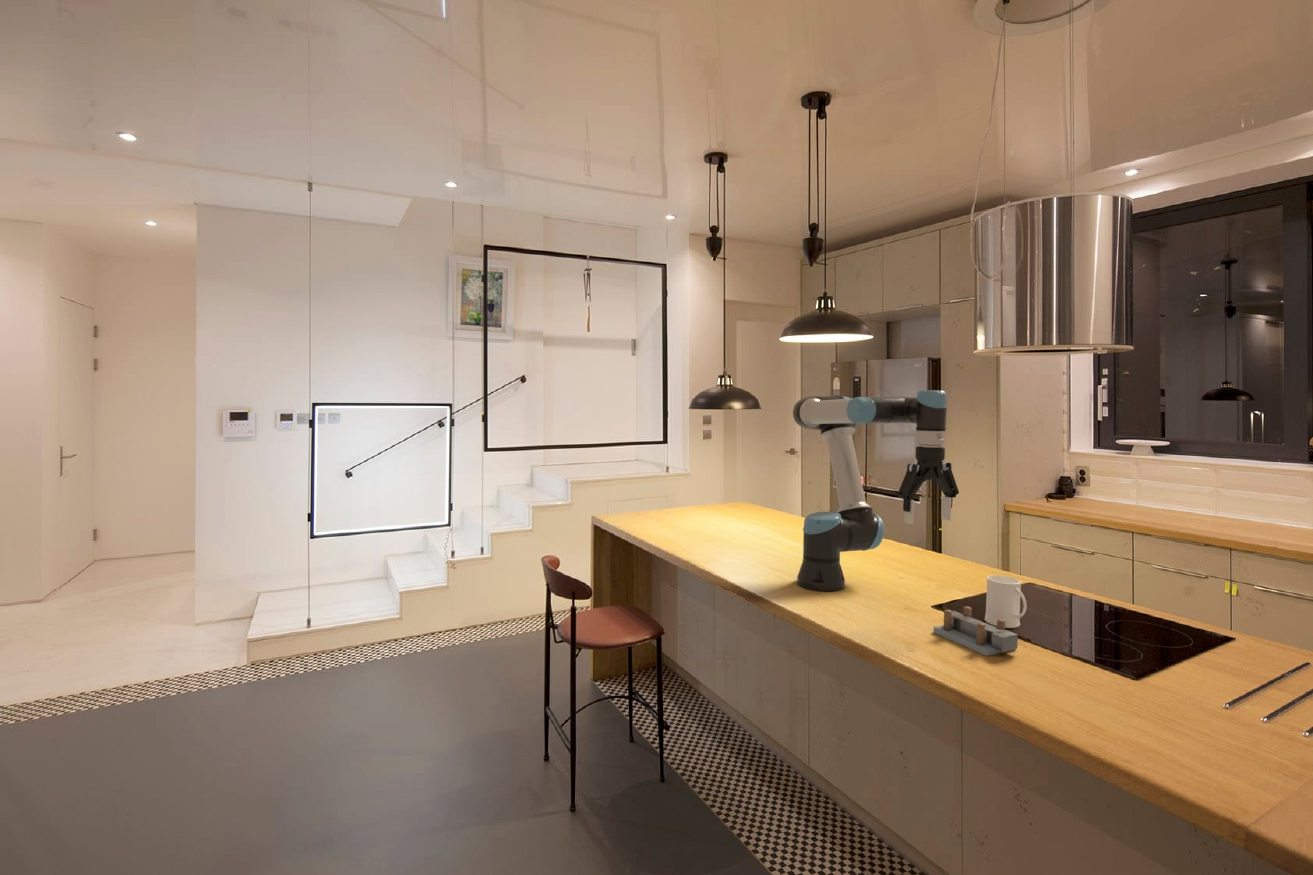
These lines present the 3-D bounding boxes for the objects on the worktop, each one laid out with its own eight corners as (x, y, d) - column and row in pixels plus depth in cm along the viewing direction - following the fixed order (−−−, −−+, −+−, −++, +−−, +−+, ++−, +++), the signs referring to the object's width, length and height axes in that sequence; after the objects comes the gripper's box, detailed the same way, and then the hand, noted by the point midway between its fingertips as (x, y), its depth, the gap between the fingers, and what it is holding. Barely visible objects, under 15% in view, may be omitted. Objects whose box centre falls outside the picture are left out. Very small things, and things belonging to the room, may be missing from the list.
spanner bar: (941, 625, 165) (942, 612, 165) (955, 623, 167) (956, 610, 167) (1002, 651, 148) (1002, 637, 148) (1017, 648, 150) (1017, 634, 150)
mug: (1036, 631, 165) (1038, 587, 164) (1007, 633, 164) (1009, 588, 163) (1005, 616, 177) (1006, 574, 176) (977, 617, 175) (979, 575, 175)
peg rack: (933, 632, 164) (934, 608, 164) (961, 627, 168) (962, 603, 168) (986, 655, 150) (987, 629, 149) (1015, 649, 153) (1016, 623, 153)
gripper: (905, 448, 166) (902, 527, 167) (974, 445, 175) (971, 520, 177) (885, 446, 173) (882, 522, 174) (952, 443, 182) (950, 515, 184)
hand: (927, 521), depth 176 cm, fingers open, 13 cm apart
